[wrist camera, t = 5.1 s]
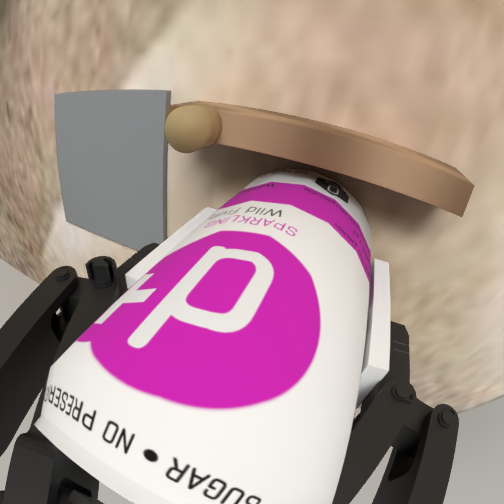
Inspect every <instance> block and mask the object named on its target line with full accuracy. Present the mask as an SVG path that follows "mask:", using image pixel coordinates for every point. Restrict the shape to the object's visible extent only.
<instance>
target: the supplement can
mask: <svg viewBox="0 0 504 504" xmlns="http://www.w3.org/2000/svg"><path fill="white" fill-rule="evenodd" d="M370 275H371V228H370V226H369V223H368V221H367V219H366V216H365V214H364V212H363V209H362V207H361V205H360V203H359V202H358V201H357V200H356V199H355V198H354V197H353V196H352V195H351V194H350V193H349V192H348V191H347V190H346V189H345V188H344V187H343V186H342V185H341V184H340V183H338V182H336V181H334V180H332V179H329V178H327V177H325V176H323V175H321V174H319V173H317V172H315V171H308V170H298V169H286V168H285V169H281V170H278V171H274V172H271V173H267V174H264V175H260V176H259V177H258V178H256V179H255V180H254V181H252V182H251V183H250V184H249V185H247V186H246V187H245V188H244V189H242V190H241V191H240V192H239V193H237V194H236V195H235V196H234V197H233V198H231V199H230V200H229V201H228V202H227V203H225V204H224V205H223V206H222V207H221V208H219V209H218V210H217V211H216V212H215V213H213V214H212V215H211V216H210V217H209V218H208V219H206V220H205V221H204V222H203V223H202V224H201V225H199V226H198V227H197V228H196V229H195V230H194V231H192V232H191V233H190V234H189V235H188V236H187V237H186V238H184V239H183V240H182V241H181V242H180V243H179V244H178V245H176V246H175V247H174V248H173V249H172V250H171V251H170V252H169V253H167V254H166V255H165V256H164V257H163V258H162V259H161V260H160V261H159V262H157V263H156V264H155V265H154V266H153V267H152V268H151V269H150V270H149V271H148V272H147V273H145V274H144V275H143V276H142V277H141V278H140V279H139V280H138V281H137V282H136V283H135V284H134V285H133V286H131V287H130V288H129V289H128V290H127V291H126V292H125V293H124V294H123V295H122V296H121V297H120V298H119V299H118V300H117V301H116V302H115V303H114V304H112V305H111V306H110V307H109V308H108V309H107V310H106V311H105V312H104V313H103V314H102V315H101V316H100V317H99V318H98V319H97V320H96V321H95V322H94V323H93V324H92V325H91V326H90V327H89V328H88V329H87V330H86V331H85V332H84V333H83V334H82V335H81V336H80V337H79V338H78V339H77V340H76V341H75V342H74V343H73V344H72V345H71V346H70V347H69V348H68V349H67V350H66V351H65V352H64V353H63V355H62V356H61V357H60V358H59V359H58V360H57V361H56V362H55V363H54V364H53V365H52V366H51V367H50V371H49V376H48V380H47V385H46V390H45V395H44V401H43V406H42V412H41V417H40V418H39V419H38V420H37V421H36V423H35V424H34V425H35V426H36V427H37V429H38V430H39V431H40V432H41V433H42V434H43V435H44V436H46V437H47V438H48V439H49V440H50V441H51V442H52V443H53V444H54V445H55V446H56V447H57V448H58V449H59V450H61V451H62V452H63V453H64V454H65V455H66V456H68V457H69V458H70V459H71V460H72V461H74V462H75V463H76V464H77V465H79V466H80V467H81V468H83V469H84V470H85V471H87V472H88V473H89V474H91V475H92V476H93V477H95V478H96V479H97V480H99V481H100V482H102V483H103V484H104V485H106V486H107V487H109V488H110V489H112V490H114V491H115V492H117V493H118V494H120V495H121V496H123V497H125V498H126V499H128V500H129V501H131V502H133V503H135V504H332V502H333V499H334V495H335V492H336V489H337V485H338V482H339V478H340V474H341V471H342V467H343V463H344V459H345V455H346V450H347V446H348V442H349V437H350V433H351V430H352V425H353V420H354V415H355V410H356V404H357V398H358V393H359V386H360V380H361V373H362V365H363V358H364V350H365V341H366V331H367V321H368V308H369V294H370Z"/></svg>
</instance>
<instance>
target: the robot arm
mask: <svg viewBox="0 0 504 504" xmlns="http://www.w3.org/2000/svg"><path fill="white" fill-rule="evenodd" d="M216 211H217V210H216V209H213V208H209V207H206V208H205V209H204V210H202V211H201V212H200V213H199V214H197V215H196V216H195V217H194V218H192V219H191V220H190V221H189V222H187V223H186V224H185V225H184V226H182V227H181V228H180V229H179V230H177V231H176V232H175V233H174V234H172V235H171V236H170V237H169V238H168V239H166V240H165V241H164V242H163V243H161V244H157V243H155V242H154V243H151V244H149V245H146V246H144V247H143V248H142V249H140V250H139V251H138V252H137V253H135V254H134V255H133V256H132V257H131V258H129V259H128V260H127V261H126V262H124V263H123V264H122V265H121V266H120V267H118V268H117V267H116V262H115V260H114V259H112V258H111V257H107V256H99V257H95V258H93V259H91V260H89V261H88V262H87V263H86V269H87V273H88V277H89V279H86V278H81V277H78V276H77V273H76V270H75V269H74V268H73V267H70V266H62V267H59V268H57V269H55V270H54V271H53V272H52V273H51V274H50V275H49V276H48V277H47V278H46V279H45V280H44V281H43V282H42V283H41V284H40V285H39V286H38V287H37V288H36V289H35V290H34V291H33V292H32V293H31V295H30V296H29V297H28V298H27V299H26V300H25V301H24V302H23V303H22V304H21V306H20V307H19V308H18V309H17V310H16V311H15V312H14V313H13V315H12V316H11V317H10V318H9V320H7V322H6V323H5V324H4V325H3V326H2V328H1V329H0V456H1V455H2V454H3V453H4V451H5V450H6V449H7V447H8V446H9V444H10V442H11V441H12V439H13V437H14V435H15V434H16V431H17V430H18V428H19V426H20V425H21V422H22V421H23V419H24V417H25V416H26V414H27V412H28V411H29V409H30V407H31V406H32V404H33V402H34V401H35V399H36V398H37V396H38V394H39V393H40V391H41V389H42V388H43V389H42V392H41V395H40V398H39V401H38V404H37V407H36V410H35V413H34V417H33V420H32V424H31V427H30V429H29V431H28V432H27V433H23V434H21V435H19V437H18V438H17V440H16V442H15V445H14V449H13V453H12V457H11V461H10V466H9V471H8V476H7V481H6V487H5V490H4V491H0V504H103V503H102V502H100V501H99V500H97V498H98V489H99V480H97V479H96V478H95V477H93V476H92V475H91V474H89V473H88V472H87V471H85V470H84V469H83V468H81V467H80V466H79V465H77V464H76V463H75V462H74V461H72V460H71V459H70V458H69V457H68V456H66V455H65V454H64V453H63V452H62V451H61V450H59V449H58V448H57V447H56V446H55V445H54V444H53V443H52V442H51V441H50V440H49V439H48V438H47V437H46V436H44V435H43V434H42V433H41V432H40V431H39V430H38V429H37V427H36V426H35V425H34V424H35V423H36V421H37V420H38V419H39V418H40V417H41V412H42V406H43V401H44V395H45V390H46V385H47V380H48V376H49V371H50V367H51V366H52V365H53V364H54V363H55V362H56V361H57V360H58V359H59V358H60V357H61V356H62V355H63V353H64V352H65V351H66V350H67V349H68V348H69V347H70V346H71V345H72V344H73V343H74V342H75V341H76V340H77V339H78V338H79V337H80V336H81V335H82V334H83V333H84V332H85V331H86V330H87V329H88V328H89V327H90V326H91V325H92V324H93V323H94V322H95V321H96V320H97V319H98V318H99V317H100V316H101V315H102V314H103V313H104V312H105V311H106V310H107V309H108V308H109V307H110V306H111V305H112V304H114V303H115V302H116V301H117V300H118V299H119V298H120V297H121V296H122V295H123V294H124V293H125V292H126V291H127V290H128V289H129V288H130V287H131V286H133V285H134V284H135V283H136V282H137V281H138V280H139V279H140V278H141V277H142V276H143V275H144V274H145V273H147V272H148V271H149V270H150V269H151V268H152V267H153V266H154V265H155V264H156V263H157V262H159V261H160V260H161V259H162V258H163V257H164V256H165V255H166V254H167V253H169V252H170V251H171V250H172V249H173V248H174V247H175V246H176V245H178V244H179V243H180V242H181V241H182V240H183V239H184V238H186V237H187V236H188V235H189V234H190V233H191V232H192V231H194V230H195V229H196V228H197V227H198V226H199V225H201V224H202V223H203V222H204V221H205V220H206V219H208V218H209V217H210V216H211V215H212V214H213V213H215V212H216ZM59 308H60V310H61V312H60V313H59V314H58V315H57V314H56V311H57V310H58V309H59ZM361 403H362V406H361V412H360V413H359V414H358V416H357V417H356V418H355V419H354V420H353V425H352V430H351V433H350V437H349V442H348V446H347V450H346V455H345V459H344V463H343V467H342V471H341V474H340V478H339V482H338V485H337V489H336V492H335V495H334V499H333V502H332V504H349V503H350V502H351V501H352V499H353V498H354V497H355V495H356V494H357V493H358V492H359V490H360V489H361V488H362V486H363V485H364V484H365V483H366V481H367V480H368V478H369V477H370V476H371V474H372V473H373V471H374V470H375V469H376V467H377V466H378V464H379V463H380V461H381V460H382V458H383V457H384V455H385V454H386V452H387V451H388V449H389V448H390V446H392V447H393V450H392V453H391V456H390V459H389V462H388V465H387V467H386V470H385V473H384V475H383V478H382V481H381V483H380V486H379V488H378V491H377V493H376V496H375V498H374V500H373V503H372V504H443V501H444V497H445V494H446V490H447V486H448V482H449V477H450V473H451V468H452V463H453V458H454V453H455V447H456V441H457V434H458V427H459V418H458V415H457V413H456V411H455V410H454V409H453V408H452V407H451V406H449V405H446V404H440V405H437V406H436V407H435V408H434V409H433V408H432V407H430V406H428V405H426V404H425V403H423V402H421V401H420V400H419V399H417V398H416V392H415V390H414V388H413V386H412V385H411V384H410V360H409V335H408V332H407V330H406V328H405V326H404V325H401V324H398V323H395V322H392V321H390V279H389V263H387V262H384V261H381V260H378V259H374V261H373V263H372V266H371V275H370V294H369V308H368V321H367V331H366V341H365V350H364V358H363V365H362V373H361V380H360V386H359V393H358V398H357V404H356V409H357V408H358V407H359V406H360V404H361Z"/></svg>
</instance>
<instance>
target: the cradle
mask: <svg viewBox="0 0 504 504" xmlns="http://www.w3.org/2000/svg"><path fill="white" fill-rule="evenodd" d="M165 135H166V138H167V140H168V142H169V144H170V145H171V146H172V147H173V148H174V149H175V150H177V151H179V152H182V153H191V152H194V151H196V150H199V149H201V148H204V147H206V146H209V145H211V144H213V143H217V144H222V145H227V146H232V147H237V148H242V149H247V150H251V151H256V152H260V153H265V154H269V155H273V156H278V157H282V158H286V159H290V160H294V161H298V162H302V163H305V164H309V165H313V166H316V167H320V168H324V169H327V170H331V171H334V172H337V173H341V174H344V175H348V176H351V177H354V178H357V179H360V180H364V181H367V182H370V183H373V184H376V185H379V186H382V187H385V188H388V189H391V190H393V191H396V192H399V193H402V194H405V195H407V196H410V197H413V198H415V199H418V200H421V201H423V202H426V203H429V204H431V205H434V206H436V207H439V208H441V209H444V210H446V211H449V212H451V213H453V214H456V215H458V216H460V217H462V216H463V213H464V211H465V209H466V206H467V204H468V201H469V198H470V196H471V193H472V190H473V188H474V185H473V184H472V183H471V182H470V181H469V180H468V179H467V178H466V177H465V176H464V175H463V174H462V173H461V172H459V171H458V170H457V169H456V168H455V167H452V166H450V165H448V164H445V163H443V162H441V161H438V160H436V159H433V158H431V157H428V156H426V155H423V154H421V153H418V152H415V151H413V150H410V149H407V148H405V147H402V146H399V145H396V144H393V143H390V142H387V141H384V140H381V139H378V138H375V137H372V136H369V135H365V134H362V133H359V132H355V131H352V130H348V129H345V128H341V127H338V126H334V125H330V124H326V123H322V122H318V121H314V120H310V119H305V118H301V117H296V116H292V115H287V114H282V113H277V112H272V111H266V110H261V109H255V108H249V107H242V106H235V105H228V104H221V103H212V102H203V101H196V102H188V103H181V104H174V105H168V106H167V119H166V122H165Z"/></svg>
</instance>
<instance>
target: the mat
mask: <svg viewBox="0 0 504 504" xmlns="http://www.w3.org/2000/svg"><path fill="white" fill-rule="evenodd" d="M170 94H171V91H168V90H99V91H82V92H70V93H60V94H55V131H56V147H57V159H58V169H59V177H60V185H61V192H62V199H63V205H64V211H65V217H66V221H67V222H70V223H72V224H74V225H77V226H79V227H81V228H84V229H86V230H88V231H91V232H93V233H95V234H98V235H100V236H103V237H105V238H108V239H110V240H112V241H115V242H117V243H120V244H122V245H125V246H127V247H130V248H132V249H135V250H137V251H139V250H140V249H142V248H143V247H144V246H146V245H149V244H151V243H154V242H155V243H157V244H161V243H163V242H164V241H165V240H166V239H167V226H166V175H167V142H168V140H167V138H166V135H165V122H166V119H167V106H168V105H170Z"/></svg>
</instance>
